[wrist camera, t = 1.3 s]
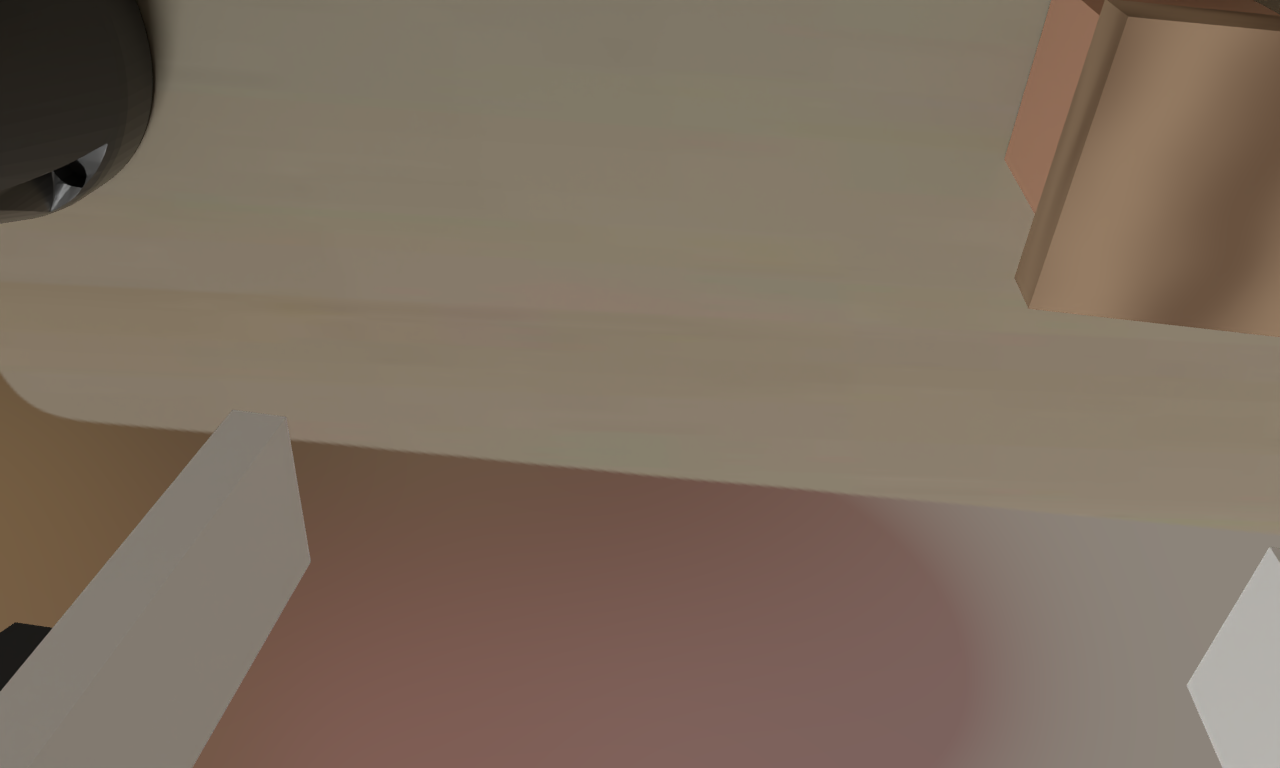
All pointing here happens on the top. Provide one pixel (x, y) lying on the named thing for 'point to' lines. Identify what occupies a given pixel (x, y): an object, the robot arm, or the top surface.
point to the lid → (1166, 175)
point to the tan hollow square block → (1067, 83)
